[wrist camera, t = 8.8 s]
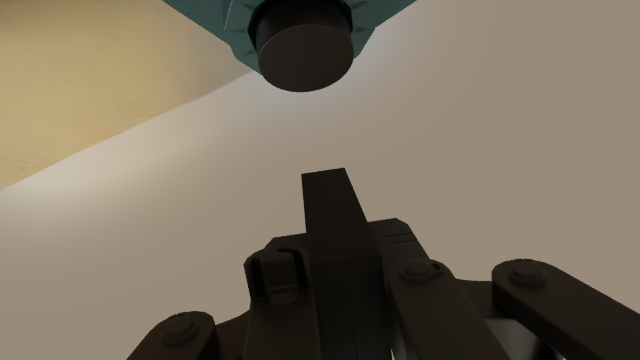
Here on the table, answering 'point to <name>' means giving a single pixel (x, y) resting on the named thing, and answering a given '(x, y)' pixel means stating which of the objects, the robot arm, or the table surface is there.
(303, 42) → the push button
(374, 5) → the teal block with knob
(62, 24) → the table surface
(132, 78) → the table surface
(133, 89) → the table surface
